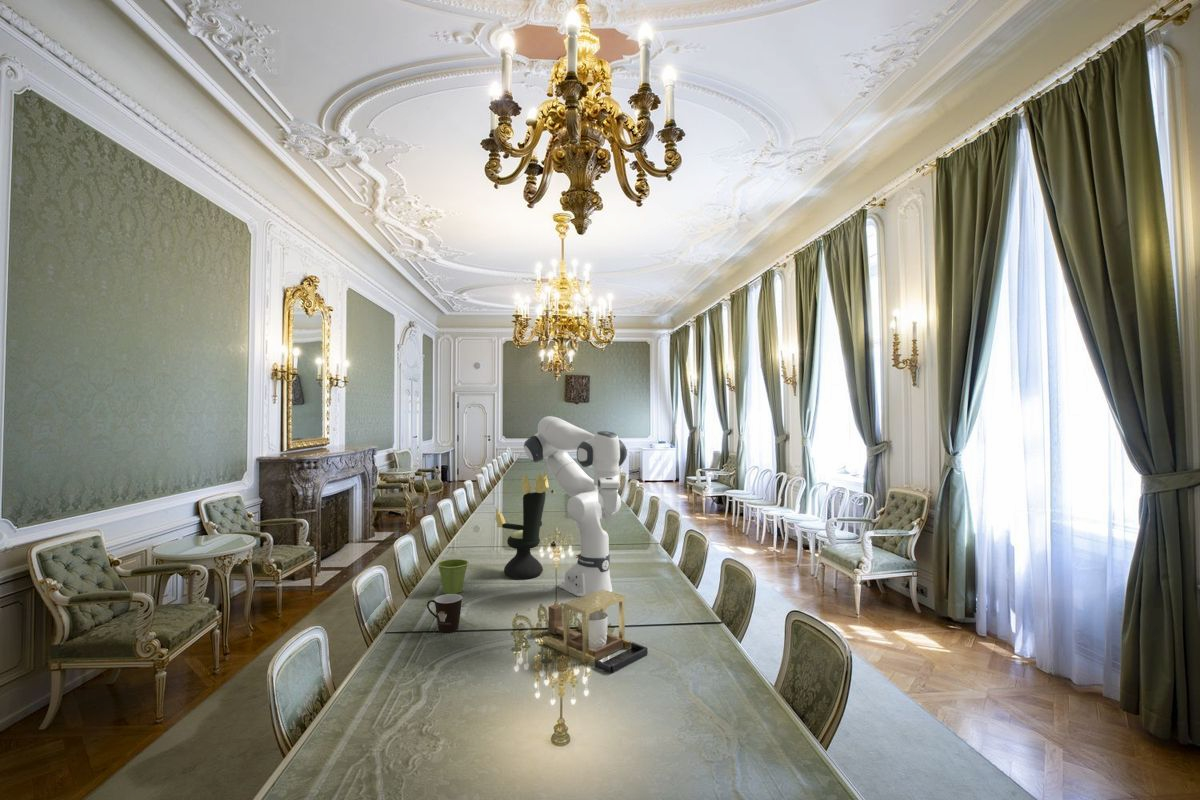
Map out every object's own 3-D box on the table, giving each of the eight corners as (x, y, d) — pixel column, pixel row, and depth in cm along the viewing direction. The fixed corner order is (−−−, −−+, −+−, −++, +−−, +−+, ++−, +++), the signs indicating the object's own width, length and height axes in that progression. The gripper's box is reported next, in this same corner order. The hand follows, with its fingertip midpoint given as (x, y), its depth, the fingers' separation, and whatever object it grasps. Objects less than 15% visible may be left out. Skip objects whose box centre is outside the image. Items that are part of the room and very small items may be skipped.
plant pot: (473, 593, 215) (473, 564, 215) (442, 599, 209) (443, 569, 209) (462, 585, 225) (462, 557, 225) (432, 590, 218) (433, 561, 219)
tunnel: (542, 644, 170) (542, 595, 170) (581, 627, 182) (581, 582, 183) (610, 674, 151) (610, 620, 151) (649, 654, 163) (649, 603, 164)
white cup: (588, 657, 161) (588, 622, 161) (577, 646, 168) (577, 613, 168) (612, 651, 165) (612, 617, 165) (600, 641, 172) (600, 609, 172)
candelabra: (529, 564, 254) (529, 466, 254) (560, 575, 238) (561, 470, 238) (493, 573, 240) (494, 469, 241) (525, 585, 225) (525, 473, 225)
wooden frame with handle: (537, 635, 175) (537, 610, 175) (565, 624, 184) (565, 600, 184) (595, 661, 158) (595, 632, 158) (622, 647, 167) (623, 620, 167)
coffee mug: (467, 629, 181) (467, 598, 181) (443, 637, 175) (443, 605, 175) (447, 619, 189) (447, 590, 189) (424, 627, 183) (424, 596, 183)
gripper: (594, 476, 198) (593, 514, 198) (601, 484, 178) (600, 527, 178) (611, 475, 199) (611, 514, 199) (620, 483, 179) (620, 527, 178)
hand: (606, 520), depth 188 cm, fingers open, 8 cm apart
